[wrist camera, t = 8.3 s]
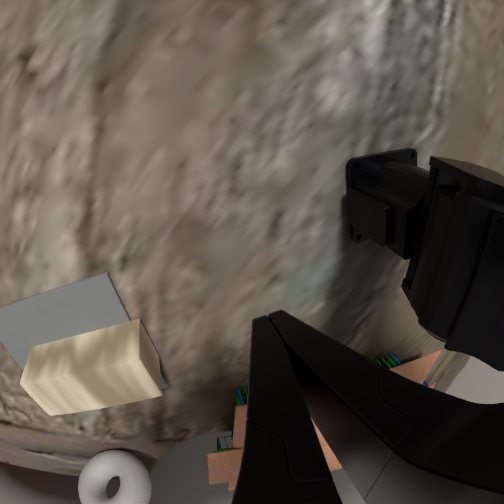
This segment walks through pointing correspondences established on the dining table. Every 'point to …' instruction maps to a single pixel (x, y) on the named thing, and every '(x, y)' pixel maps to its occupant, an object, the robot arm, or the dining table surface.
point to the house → (228, 461)
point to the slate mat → (61, 315)
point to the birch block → (93, 370)
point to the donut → (108, 466)
